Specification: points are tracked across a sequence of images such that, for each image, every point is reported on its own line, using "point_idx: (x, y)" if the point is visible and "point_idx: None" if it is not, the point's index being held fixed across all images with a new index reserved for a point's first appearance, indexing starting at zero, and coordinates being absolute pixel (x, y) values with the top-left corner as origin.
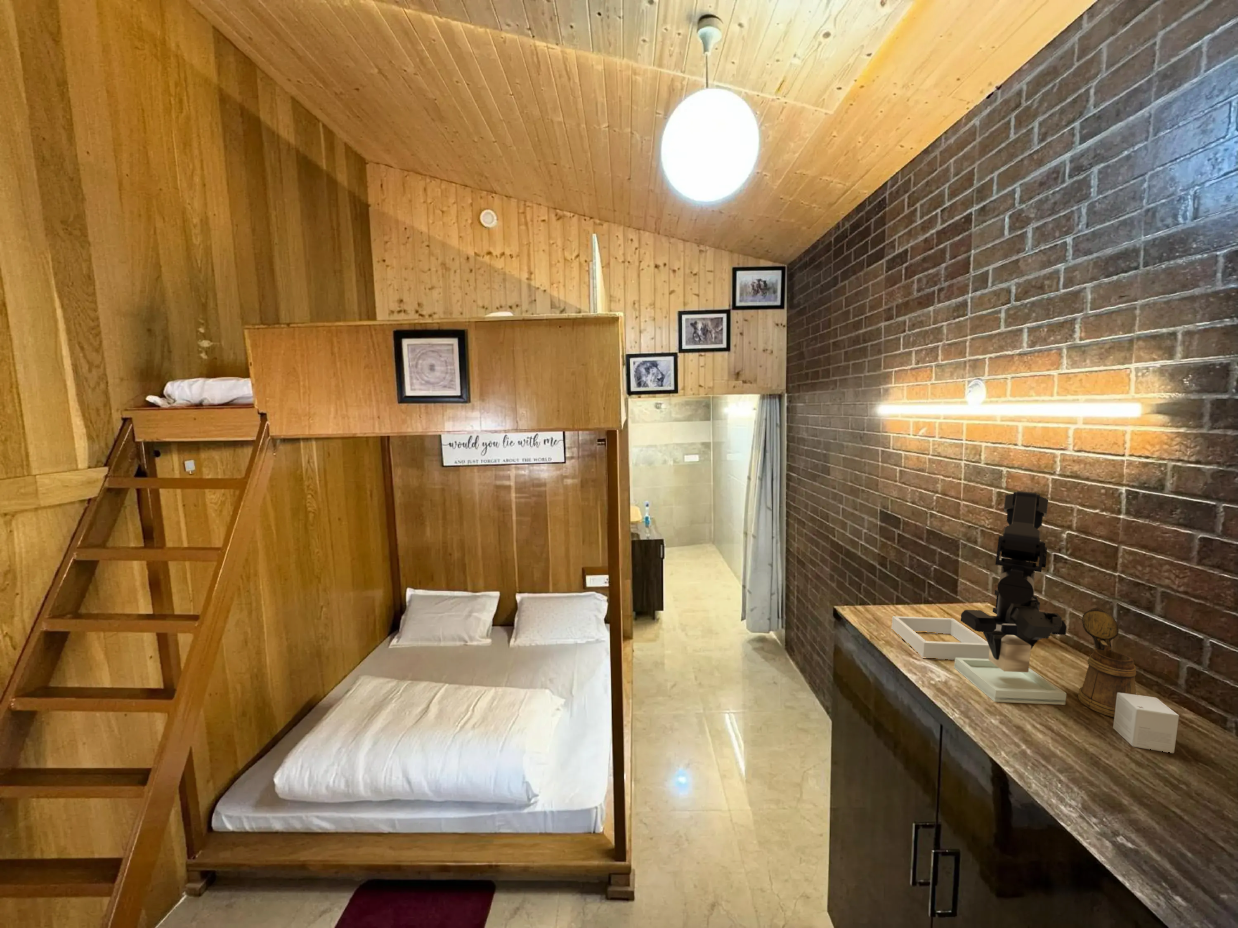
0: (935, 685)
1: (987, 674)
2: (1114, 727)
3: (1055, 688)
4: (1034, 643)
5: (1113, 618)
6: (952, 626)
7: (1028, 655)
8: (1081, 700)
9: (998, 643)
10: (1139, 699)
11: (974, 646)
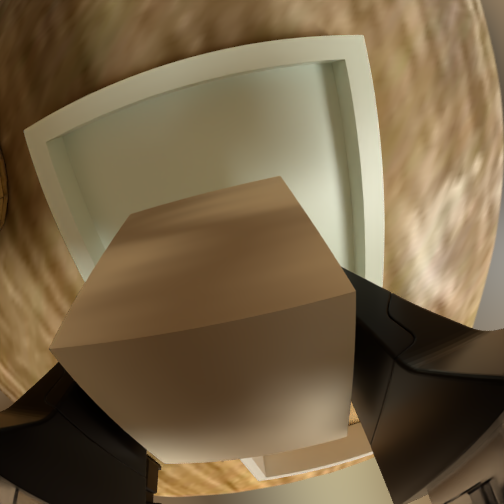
0: (478, 142)
1: None
2: None
3: (48, 159)
4: (35, 386)
5: None
6: (263, 462)
7: (100, 273)
8: (2, 174)
9: (391, 319)
10: None
11: None
